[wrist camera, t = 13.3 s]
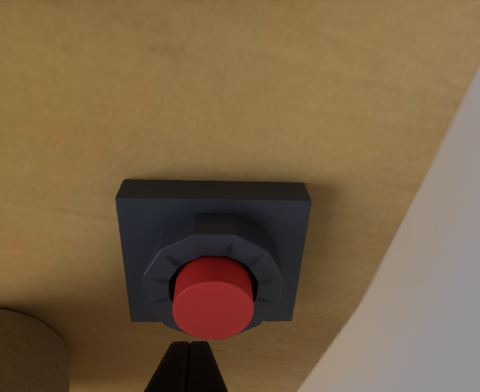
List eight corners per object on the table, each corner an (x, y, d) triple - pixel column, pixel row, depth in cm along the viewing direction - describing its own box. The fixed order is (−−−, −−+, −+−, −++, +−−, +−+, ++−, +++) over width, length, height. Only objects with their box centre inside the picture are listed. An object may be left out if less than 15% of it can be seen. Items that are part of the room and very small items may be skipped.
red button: (177, 311, 19) (173, 340, 18) (174, 254, 17) (170, 281, 16) (248, 311, 19) (251, 339, 18) (253, 255, 18) (256, 281, 16)
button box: (136, 298, 23) (124, 348, 20) (123, 179, 19) (105, 218, 16) (286, 298, 23) (297, 346, 20) (304, 182, 19) (320, 221, 16)
